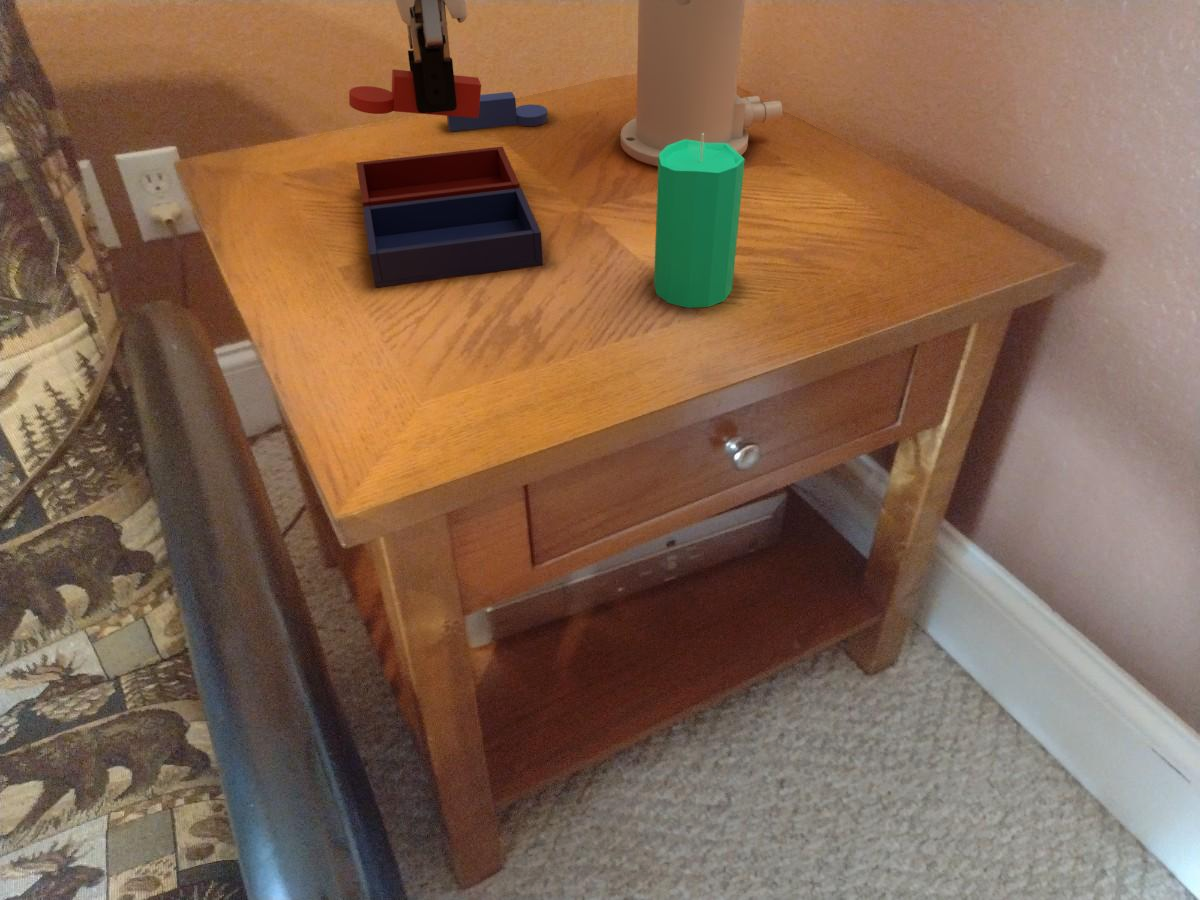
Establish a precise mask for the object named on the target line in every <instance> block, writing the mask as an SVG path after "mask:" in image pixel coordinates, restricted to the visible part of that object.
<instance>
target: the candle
mask: <svg viewBox="0 0 1200 900" xmlns="http://www.w3.org/2000/svg"><path fill="white" fill-rule="evenodd" d="M703 141H704V133H702V139H701V142H699V141H693V140H687V139H684V140H681V141H678V142H676V143H673V144H670V145H667V146H666V147H665V148H664V149H663V150H662V151H661V152H660V153H659V156H658V166H657V186H656V187H657V189H656V215H655V217H656V218H655V219H656V220H655V242H654V243H655V244H654V246H655V247H654V271H653V273H654V275H653V278H654V279H653V286H654V290H655V294H656V295H657V296H658V297H659V298H661V299H662V300H663V301H664V302H666V303H668V304H671V305H675V306H679V307H683V308H686V309H691V308H709V307H712V306H715V305H717V304H721V303H722V302H725V301H726V300H727V298H728V297H729V296H730V294H731V293H732V292H733V283H734V272H735V262H736V253H737V244H738V243H737V241H738V231H739V222H740V212H741V204H742V203H741V202H742V192H743V183H744V182H743V181H744V174H745V173H744V172H745V163H746V162H745V160H746V159H745V158H744V157H743V155H740V154H739V153H738V152H737V151H735V150H734V149H733V148H732V147H731V146H730V145H729V144H727V143H705V142H703Z"/></svg>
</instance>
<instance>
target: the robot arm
mask: <svg viewBox="0 0 1200 900" xmlns="http://www.w3.org/2000/svg"><path fill="white" fill-rule="evenodd" d="M395 3H396V7H397V10H398V12H399V13H398V14H399V16H400V19H401V21H402V22H403V23H405V24H406V29H407V36H408V37H407V38H408V43H409V49H410V50H407V55H408V63H409V71H412V74H413V82H414V90H415V98H416V105H417V110H418V111H419V112H420V113H432V112H443V111H453V110H455V109H456V107H457V103H456V93H455V83H454V75H455V73H454V63H453V62H454V61H453V58H452V57H451V53H450V42H449V32H448V20H447V11H448V13H449V15H450V17H451V18H452V20H454V19H455V20H457V22H458V24H462V23H464V22H465V20H467V17H468V13H467V12H468V11H467V3H466V0H395ZM446 8H447V10H446ZM637 10H638V11H637V14H638V15H637V57H636V59H637V61H636V65H637V67H636V111H635V112H636V116H635V117H634V118H632V119H631V120H629V121H628V122H627V123H625V124H623V126H622V128H621V129H620V135H619V138H620V139H619V141H620V147H621V149H622V150H623V152H625V153H626V154H627V155H628V156H629V157H631V158H633V159H634V160H636V161H639V162H641V163H644V164H647V165H650V166H654V167H658V156H659V153H660V152H661V151H662V150H663V149H664V148H665V147H666V146H667V145H670V144H673V143H676V142H678V141H681V140H684V139H687V140H693V141H699V142H701V139H702V133H704V141H703V142H705V143H727V144H729V145H730V146H731V147H732V148H733V149H734V150H735V151H737V152H738V153H739V154H740V155H741V156H743V155H744V153H745V152H746V151H747V149H748V146H749V136H750V135H749V133H748V130H747V128H748V129H749V128H751V127H752V125H753V124H756V123H762V124H765V123H773V122H774V123H775V122H779V121H781V120H782V118H783V112H784V111H783V104H782V102H781V101H780V100H772V101H769V100H768V101H762V102H761V98H760V96H759V95H752V96H751V95H750V96H745V97H741V96H740V95H739V94H738V81H739V69H740V60H741V59H740V58H741V46H742V35H743V24H744V11H745V0H638V9H637ZM420 113H419V114H420Z"/></svg>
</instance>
